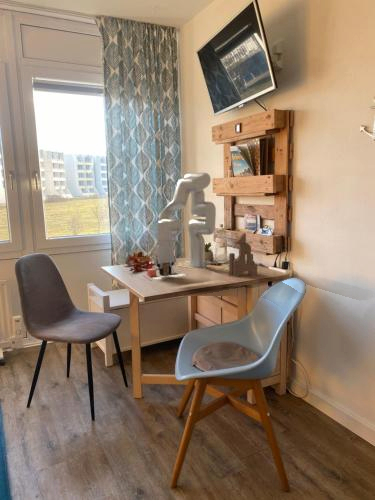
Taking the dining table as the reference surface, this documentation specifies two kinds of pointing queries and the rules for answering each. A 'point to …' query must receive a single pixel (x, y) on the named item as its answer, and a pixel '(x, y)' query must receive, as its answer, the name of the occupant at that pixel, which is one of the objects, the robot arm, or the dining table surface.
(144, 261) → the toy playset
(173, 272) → the dome
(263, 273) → the dining table surface
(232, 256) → the wooden toy
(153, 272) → the board
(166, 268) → the brown rounded capsule
